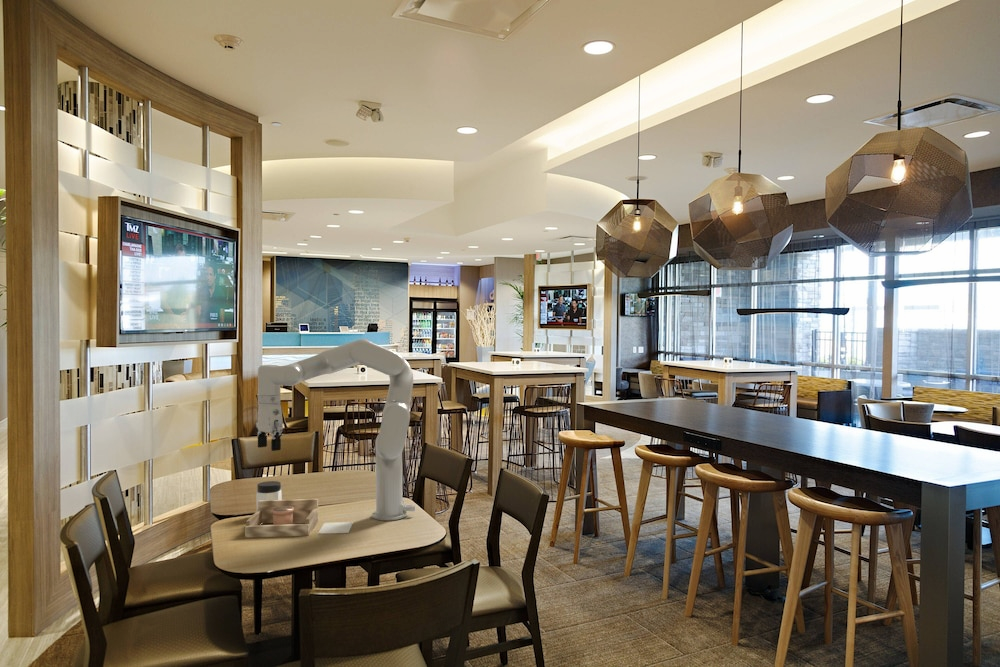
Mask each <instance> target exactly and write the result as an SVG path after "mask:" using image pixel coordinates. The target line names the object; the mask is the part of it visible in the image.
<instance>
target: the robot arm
mask: <svg viewBox="0 0 1000 667" xmlns="http://www.w3.org/2000/svg"><path fill="white" fill-rule="evenodd" d="M360 364H361V365H362V366H365V367H368V368H370V369H372V370H375V371H377V372H379V373H382V374H384V375H387V376H388V377H389V386H388V392H387V396H386V401H385V404H384V407H383V409H382V419H381V424H380V428H379V433H378V434H377V436H376V438H375V501H376V502H375V505H376V506H375V508H376V510H375V511H373V512H372V513H371V518H372V519H373V520H376V521H385V522H386V521H396V520H401V519H404V518H406V517H407V515H408V512H415V511H416V506H415V505H413V504H405V501H404V500H403V451H404V448H405V443H406V440H407V436H408V431H409V430H408V429H409V425H410V420H411V412H410V409H409V408H410V402H411V400H412V399H411V398H412V394H413V393H412V392H413V387H414V375H413V370H412V367H411V366H410V363H409V362H408V361H407V360H406V359H405V358H404V357H403V356H402V355H401V354H400V353H399V352H396V351H393V350H390V349H389V348H386V347H384V346H381V345H379V344H377V343H374V342H373V341H370V340H369V339H367V338H359V339H356V340H353V341H350V342H348V343H344V344H342V345H338V346H335V347H333V348H329V349H327V350H324V351H322V352H320V353H318V354H316V355H313V356H310V357H307V358H305V359H302V360H301V359H300V360H299V361H296V362H292V363H289V364H286V365H277V364H262V365H259V367H258V368H257V405H258V408H257V418H256V419H257V421H256V422H255V428H256V432H257V434H256V435H257V448H259V449H260V448H267V446H268V435H267V434H270V435H271V438H272V439H271V442H270V443H271V444H270V445H271V449H270V450H271V451H272V452H275V451H281V447H282V444H281V442H282V440H281V439H282V436H283V430H284V425H283V411H282V406H281V405H282V404H281V386H286V387H287V386H288V387H293V386H296V385H298V384H300V383H302V382H305V381H308V380H310V379H313V378H316V377H319V376H325V375H330V374H334V373H337V372H340V371H343V370H346V369H349V368H351V367H355V366H357V365H360Z"/></svg>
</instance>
